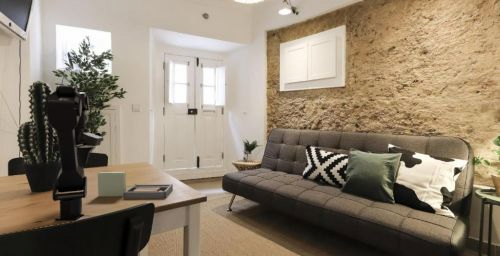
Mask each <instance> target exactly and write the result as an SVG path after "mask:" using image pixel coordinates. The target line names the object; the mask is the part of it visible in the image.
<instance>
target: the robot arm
mask: <svg viewBox="0 0 500 256" xmlns="http://www.w3.org/2000/svg"><path fill="white" fill-rule="evenodd" d="M86 111H88V112H89V111H90V101H89V96H88V95H87V92H83V91H82V92H81V91H78V88H77V86H73V85H59V86H58V85H57V86H56V88H55V91H53V92H52V93H50V94H49V95H47V96H46V98H45V101H44V106H43V114H44V116H45V117H46V118H47V122H48V123H47V124H48V125H49V126H50V128H52V129H54V131H56V136H57V142H56V143H54V144H52V145H51V152H52V153H54V154H56V155H57V156H58V157H59V159H60V166H61V168H60V170H59V172H58V175H57V178H56V179H55V182H54V183H53V185H52V186H53V188H52V195H51V196H52V201H53V202H57V201H59V215H58V216H57V217H54V220H55V221H72V220H73V221H75V220H78V219H80V218H81V217H83V215H85V214H84V213H83V199H86V197H87V194H88V177H87V176H86V174H85V168H84V166H87V164H88V161H89V158H90V154H91V152H92V151H93V150H94V149H96V148H97V146H100V145H101V143H102V142H104V141H105V139H104V135H103V133H102V132H95V133H91V132H90V130H89V128H86V127H87V126H86V123H88V121H89V115H88V114H87V113H86ZM77 153H78V154H79V158H80V161H81V164H82V165H79V162H78V154H77Z"/></svg>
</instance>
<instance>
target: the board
mask: <svg viewBox="0 0 500 256" xmlns="http://www.w3.org/2000/svg"><path fill="white" fill-rule="evenodd" d="M126 176H127V175H126V171H100V172H98V173H97V189H98V190H97V191H98V192H97V193H98V194H97V196H98V197H124V192H125V191H126V190H127V189H126V188H127V186H126V185H127V184H126V183H127V182H126V180H127V179H126Z"/></svg>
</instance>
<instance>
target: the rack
mask: <svg viewBox="0 0 500 256" xmlns="http://www.w3.org/2000/svg"><path fill="white" fill-rule="evenodd" d="M137 188H160V190H162V191H156V192H133V191H134V190H135V189H137ZM173 189H174V185H173V183H169V184H168V183H167V184H165V183H163V184H160V183H158V184H153V183H152V184H149V183H148V184H134V185H132V186H131V187H129V188H128V189H126V191H125V192H124V196H123V199H125V200H126V199H128V200H129V199H130V200H131V199H133V200H134V199H166V198H167V197H168V196H170V194H171V192H172V191H173Z"/></svg>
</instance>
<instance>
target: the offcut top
mask: <svg viewBox="0 0 500 256" xmlns="http://www.w3.org/2000/svg"><path fill="white" fill-rule="evenodd" d="M156 191H160V188H137V189H135V190H134V191H133V192H156Z"/></svg>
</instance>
